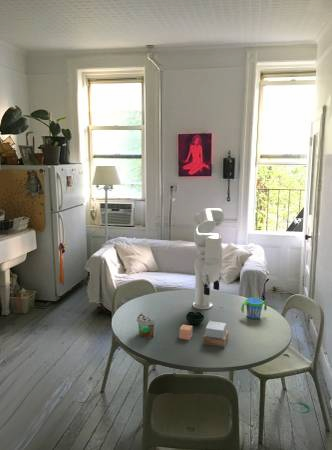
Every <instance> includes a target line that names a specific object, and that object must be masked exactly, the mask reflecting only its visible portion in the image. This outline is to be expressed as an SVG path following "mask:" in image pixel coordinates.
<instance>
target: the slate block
mask: <svg viewBox="0 0 332 450" xmlns="http://www.w3.org/2000/svg"><path fill="white" fill-rule="evenodd" d="M226 330H227V323H225V322H220V321H219V322H218V321H213V320H209V321H208V323H207V325H206V327H205V333H206V334H205V333H204V334H205V336H207V337H214V338H220V339H223V337H224V335H225V333H226Z"/></svg>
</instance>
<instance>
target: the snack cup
mask: <svg viewBox="0 0 332 450" xmlns="http://www.w3.org/2000/svg"><path fill="white" fill-rule="evenodd" d="M263 305H264V307H263ZM245 306H246V315H247V317H248V318H250V319H253V320H255V319H256V320H257V319H260V317H261V315H262V311H263V310H264V311H267V310H268V308H267V307H268V306H267V303H266V301H264V300H263V299H261V298H259V297H248V298H246V299H245V300H244V302H243V303H242V305H241V309H240V310H241V312H242V313H245V312H244V309H245ZM262 309H263V310H262Z"/></svg>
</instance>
